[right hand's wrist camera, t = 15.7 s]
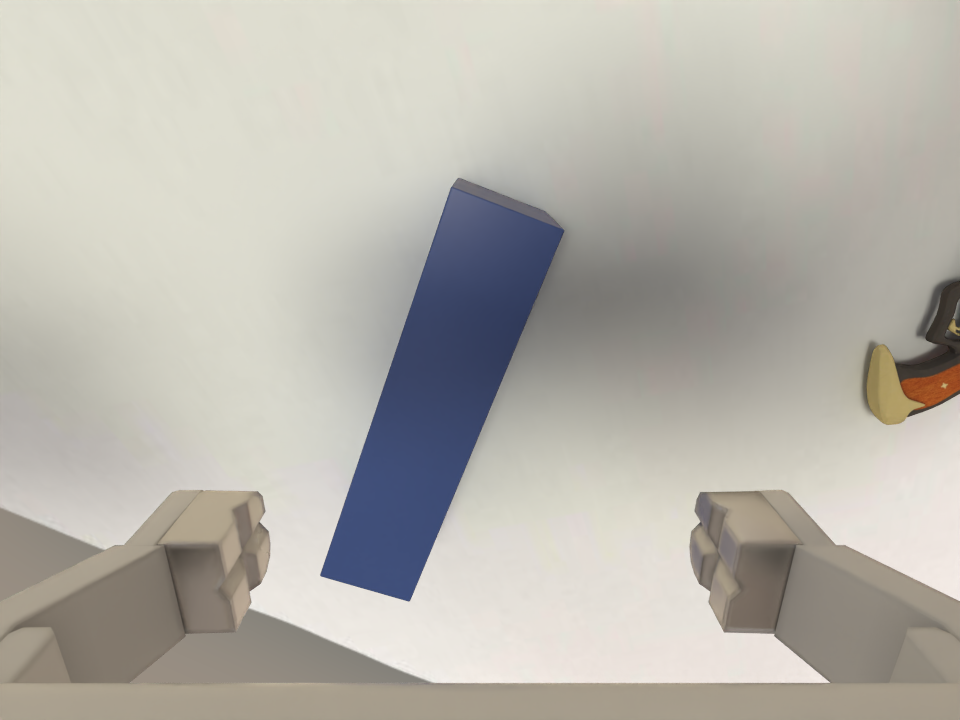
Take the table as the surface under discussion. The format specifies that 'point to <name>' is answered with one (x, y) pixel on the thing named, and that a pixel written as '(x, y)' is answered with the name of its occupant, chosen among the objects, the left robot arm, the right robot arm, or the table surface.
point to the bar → (440, 385)
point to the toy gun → (917, 371)
